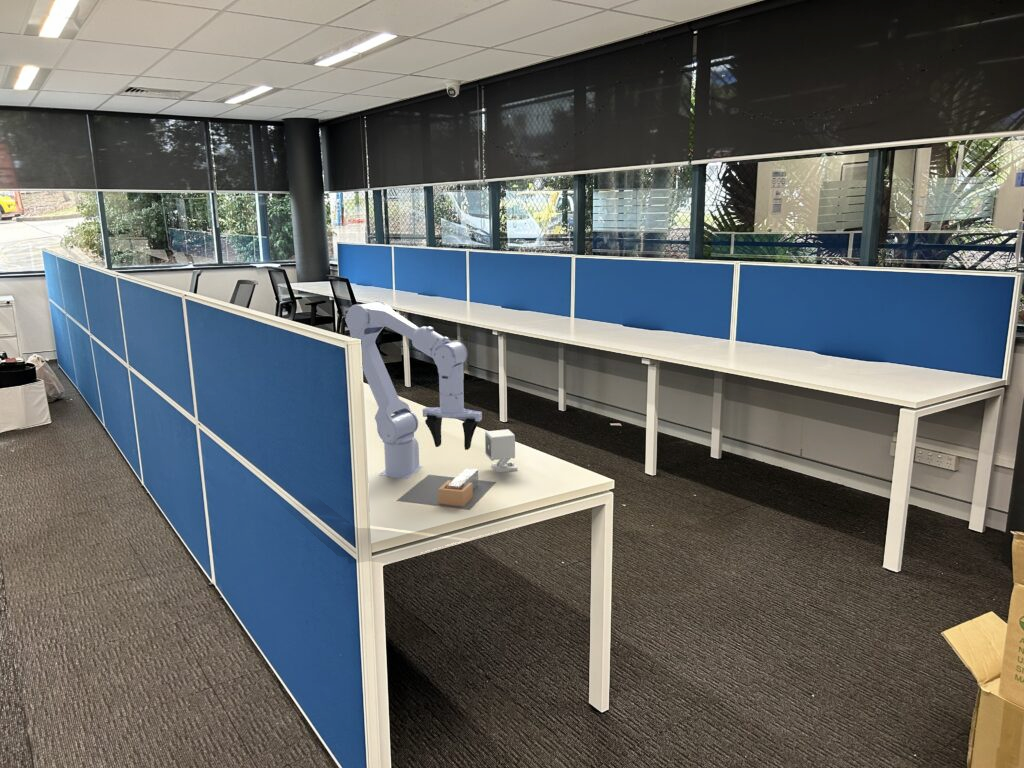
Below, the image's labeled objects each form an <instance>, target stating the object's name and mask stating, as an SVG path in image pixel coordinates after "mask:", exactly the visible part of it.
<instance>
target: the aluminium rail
mask: <svg viewBox="0 0 1024 768" xmlns="http://www.w3.org/2000/svg"><path fill="white" fill-rule="evenodd" d="M478 480H479V469H478V468H468V467H466V468H465V469H463V471H462V472H460V473H459V474H458V475H457V476H456V477H455V479H454V480H453V481H451V482H450V483H449V484H448V485H447V489H455V490H462V489H463V488H464V487H465V486H466V485H467V484H468V483H472V485H473V490H474V489H475V488H476V487H477V486H478Z"/></svg>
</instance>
